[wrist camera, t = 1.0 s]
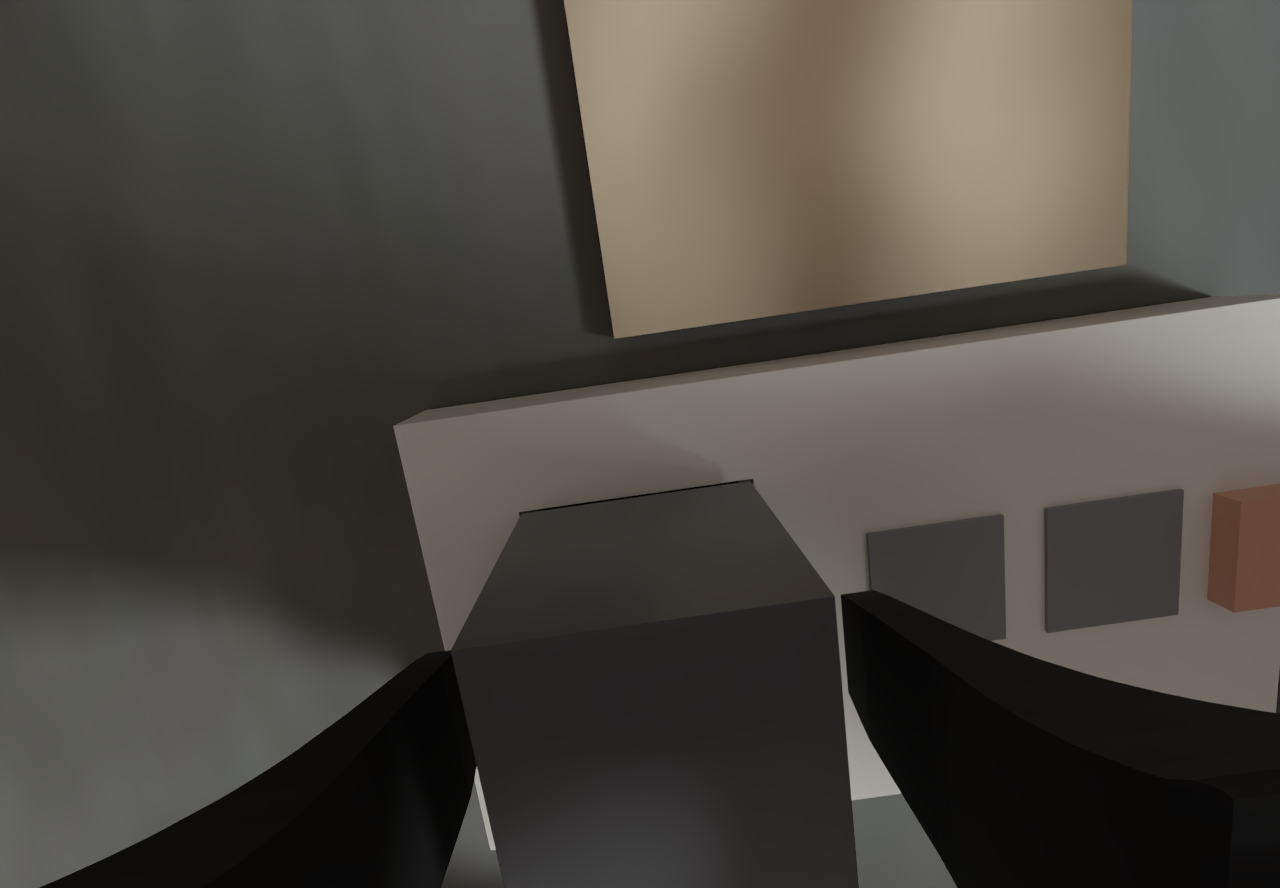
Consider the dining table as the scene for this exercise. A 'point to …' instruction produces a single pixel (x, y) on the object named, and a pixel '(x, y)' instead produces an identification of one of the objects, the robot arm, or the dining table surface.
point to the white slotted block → (941, 486)
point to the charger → (659, 700)
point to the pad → (847, 149)
